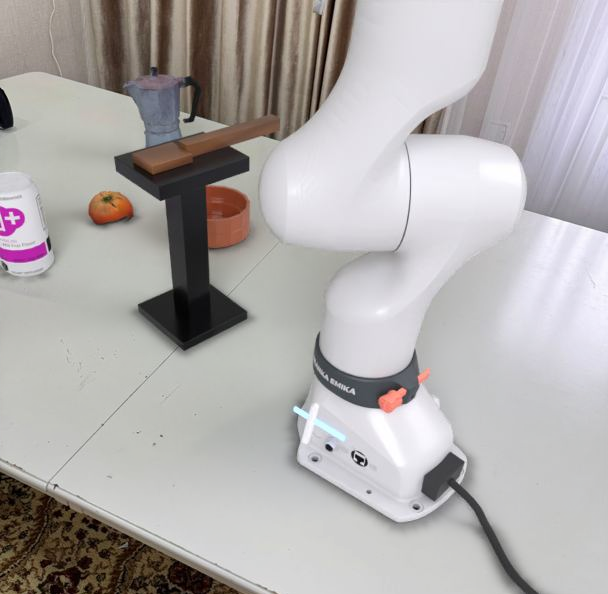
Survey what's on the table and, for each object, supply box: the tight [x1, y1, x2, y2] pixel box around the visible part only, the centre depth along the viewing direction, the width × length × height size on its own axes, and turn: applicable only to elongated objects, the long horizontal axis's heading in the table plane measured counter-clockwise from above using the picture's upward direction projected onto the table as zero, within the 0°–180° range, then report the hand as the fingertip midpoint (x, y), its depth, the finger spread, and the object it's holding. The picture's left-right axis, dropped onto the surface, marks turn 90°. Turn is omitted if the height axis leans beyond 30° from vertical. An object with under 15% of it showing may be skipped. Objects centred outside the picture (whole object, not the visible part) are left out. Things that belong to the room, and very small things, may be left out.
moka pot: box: [122, 66, 202, 148], centre depth 130 cm, size 10×15×20 cm, turn 107°
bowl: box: [206, 184, 251, 249], centre depth 114 cm, size 13×13×6 cm
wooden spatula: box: [132, 113, 281, 175], centre depth 82 cm, size 4×22×2 cm, turn 134°
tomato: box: [87, 190, 135, 226], centre depth 117 cm, size 8×7×7 cm
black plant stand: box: [113, 131, 251, 352], centre depth 88 cm, size 12×14×26 cm
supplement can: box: [0, 171, 55, 278], centre depth 99 cm, size 8×8×15 cm
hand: (287, 4), depth 95 cm, fingers open, 8 cm apart
